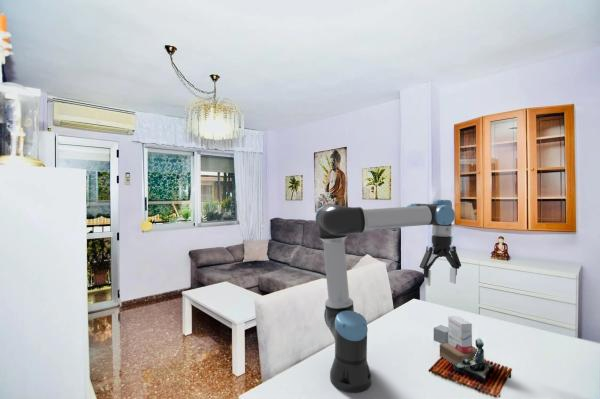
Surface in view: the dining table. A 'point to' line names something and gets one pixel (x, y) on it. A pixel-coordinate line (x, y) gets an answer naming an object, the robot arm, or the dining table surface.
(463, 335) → the ink box
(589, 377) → the dining table surface
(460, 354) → the walnut block
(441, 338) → the slate block
